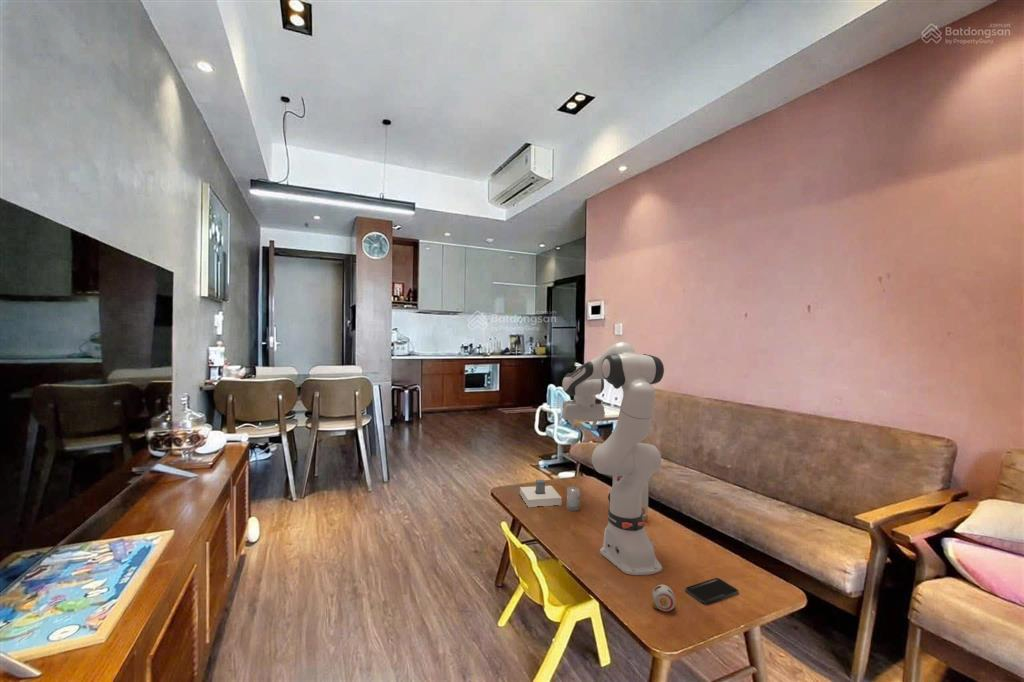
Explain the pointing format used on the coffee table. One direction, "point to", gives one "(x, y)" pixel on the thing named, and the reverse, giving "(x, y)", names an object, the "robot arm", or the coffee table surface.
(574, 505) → the round peg
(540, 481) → the square peg
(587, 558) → the coffee table surface
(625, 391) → the robot arm
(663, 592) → the roller toy
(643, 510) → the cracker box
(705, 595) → the phone
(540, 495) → the socket block
